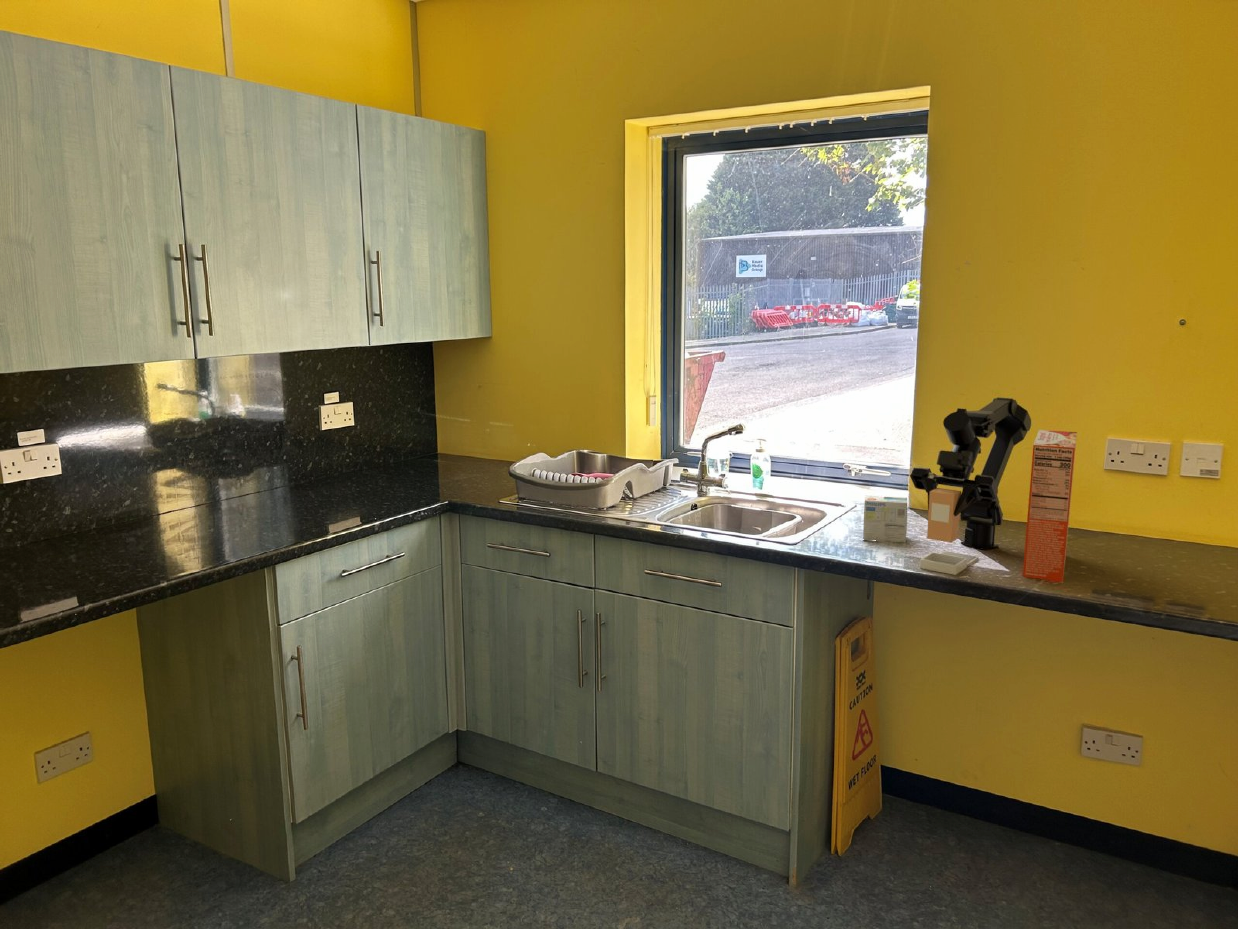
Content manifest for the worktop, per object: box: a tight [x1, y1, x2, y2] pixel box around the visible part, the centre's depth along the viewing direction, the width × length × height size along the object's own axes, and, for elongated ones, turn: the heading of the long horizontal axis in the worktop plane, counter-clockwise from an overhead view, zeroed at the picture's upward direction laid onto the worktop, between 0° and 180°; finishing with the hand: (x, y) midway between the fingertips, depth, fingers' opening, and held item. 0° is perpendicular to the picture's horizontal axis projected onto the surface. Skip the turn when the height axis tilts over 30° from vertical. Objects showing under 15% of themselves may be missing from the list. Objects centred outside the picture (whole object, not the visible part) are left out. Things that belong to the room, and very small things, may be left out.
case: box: [919, 551, 968, 576], centre depth 212 cm, size 7×8×2 cm
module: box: [926, 487, 962, 543], centre depth 210 cm, size 5×6×11 cm
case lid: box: [939, 550, 980, 567], centre depth 218 cm, size 8×8×1 cm
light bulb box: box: [862, 495, 908, 543], centre depth 236 cm, size 11×7×11 cm, turn 74°
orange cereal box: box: [1022, 429, 1078, 583], centre depth 211 cm, size 23×8×30 cm, turn 153°
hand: (941, 513), depth 209 cm, fingers closed on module, 5 cm apart
